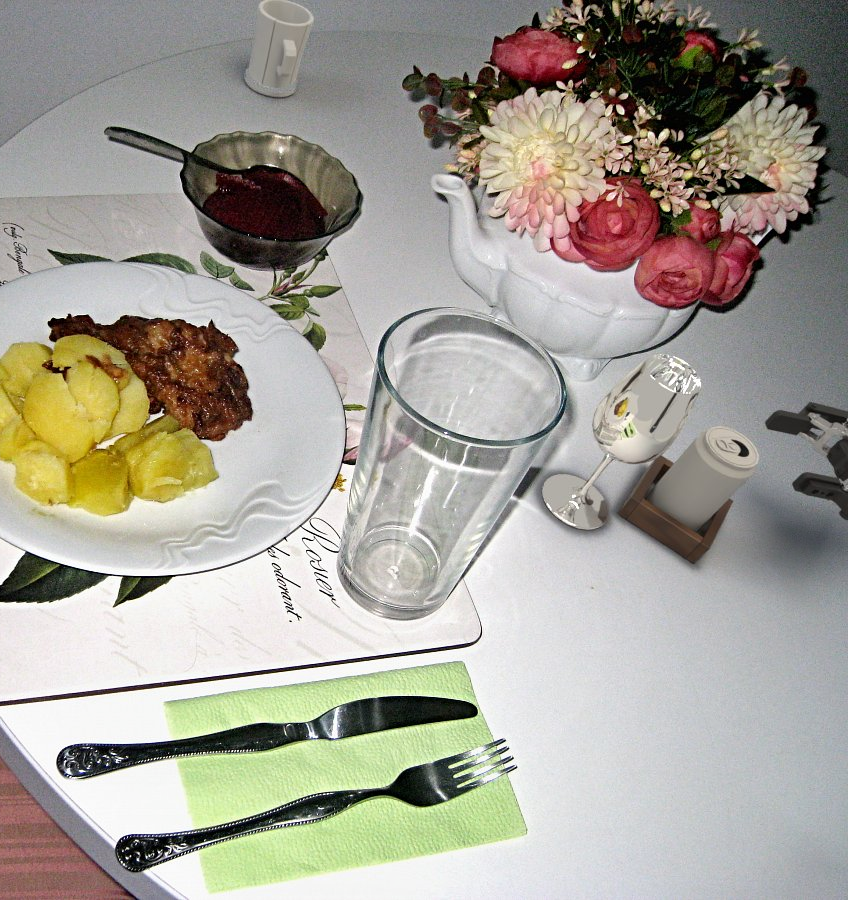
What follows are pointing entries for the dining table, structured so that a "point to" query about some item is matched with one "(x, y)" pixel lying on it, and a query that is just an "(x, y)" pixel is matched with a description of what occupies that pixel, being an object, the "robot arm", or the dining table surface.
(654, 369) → the wineglass
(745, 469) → the beverage can
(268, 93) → the cup
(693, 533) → the frame
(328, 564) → the dining table surface
